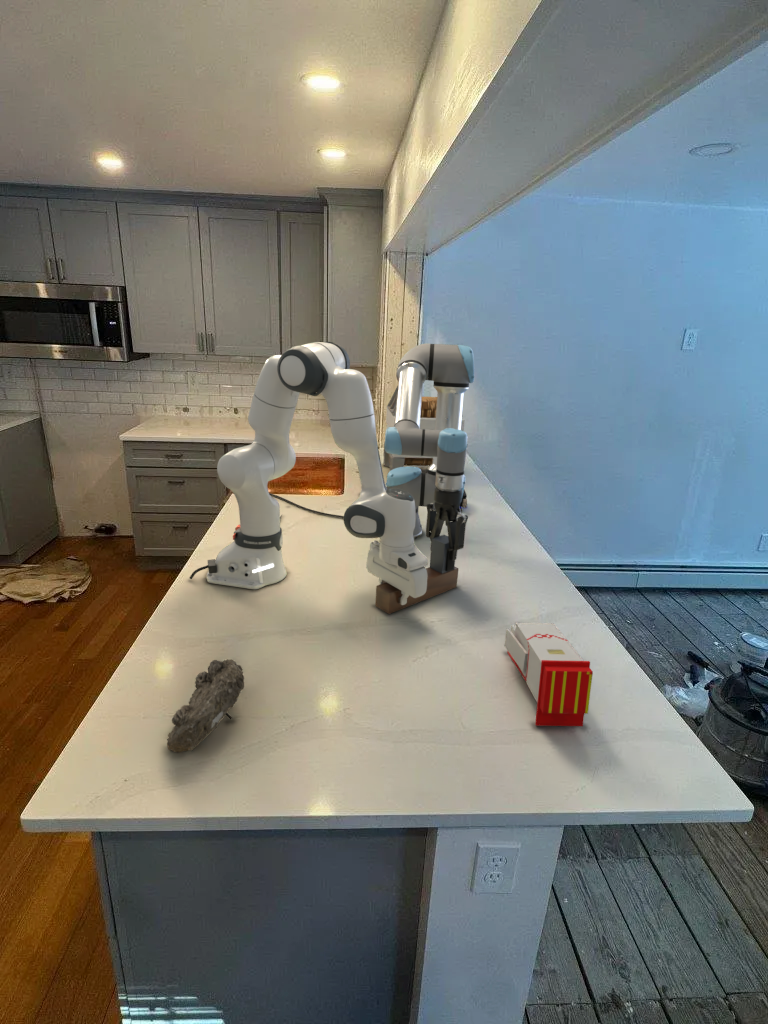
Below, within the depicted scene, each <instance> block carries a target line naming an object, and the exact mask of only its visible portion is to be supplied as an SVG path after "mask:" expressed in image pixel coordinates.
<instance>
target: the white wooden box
mask: <svg viewBox="0 0 768 1024" xmlns="http://www.w3.org/2000/svg"><path fill="white" fill-rule="evenodd" d="M397 392H398V385H397V386H396V388H395V390H394V392H393V394H392V395H391V398H390V400H389V402H388V404H387V405H386V413H385V414H386V415H385V423H386V428H385V430H386V429H387V428H388V427H394V419H395V410H396V401H397ZM436 408H437V396H422V400H421V414H420V429H429V430H435V421H436ZM464 429H465V419H464V418H462V419H461V430H462V431H464V432H465V430H464ZM432 463H433V457H430V456H414V455H397V454H389V453H387V452H386V451H385V441H384V442H383V466H384V467H388V468H389V472H390V471H391V470H393V469H395V468H399V467H405V466H406V467H407V466H412V467H417V466H418V467H429V466H430V465H431V464H432Z"/></svg>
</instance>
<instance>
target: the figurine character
mask: <svg viewBox="0 0 768 1024" xmlns="http://www.w3.org/2000/svg"><path fill="white" fill-rule="evenodd" d="M467 495H468V494H467V493H466V490H465V489H464V492H463V496H462V501H461V503H460V506H459V507H460V512H463V509H464V508H465V509H466V508H467V506H468V499H467V497H468V496H467Z"/></svg>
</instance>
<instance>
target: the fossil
mask: <svg viewBox="0 0 768 1024" xmlns="http://www.w3.org/2000/svg"><path fill="white" fill-rule="evenodd" d="M243 670H244V669H243V667H242V665H240V664H237V662H236V661H235V660H234V659H232V658H231V659H227V658H226V659H224V660H223V661H222V660H217V659H212V660H211V661H210V663H209V665H208V666H207V671H201V672H199V673H198V674H197V675H196V676H195V680H194V684H195V685H194V687H195V689H194V690H193V693H192V694H191V697H190V698H189V700H188V704H184V705H182V706H181V707H180V709H177V710H176V711H175V713H174V715H173V716H172V718H171V723H172V724H173V727H172V730H171V731H170V732H168V734H167V738H166V741H167V742H166V745H167V749H168V750H169V751H173V752H174V753H176V754H178V753H182V752H188V751H189V752H192V751H193V750H195V748H196V747H197V746H199V744H200V743H201V742H203V741H204V740H205V739H206V738H207V737H208V736H209V735H210V734H211V733H212V732H214V730H215V729H217V727H218V726H219V724H220V722H221V721H222V720H223V719H224V718H225V716H226V717H227V719H229V720H233V717H232V715H230V714H229V710H230V709H231V708H234V706H235V704H236V703H237V702H238V699H239V697H240V695H241V693H242V691H243V690H245V689H244V688H245V675H244V671H243Z"/></svg>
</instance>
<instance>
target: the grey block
mask: <svg viewBox="0 0 768 1024" xmlns="http://www.w3.org/2000/svg"><path fill="white" fill-rule="evenodd" d="M430 547H431V550H430V555H429V556H430V557H429V567H430V568H432V569H434V570H436V571H438V572H440V573H442V574H443V573H446V572H448V571H445V567H446V556H447V549H448V548H449V539H448V535H446V534H440V536H438V537H435V538H432V542H431V541H430ZM455 565H456V560H454V567H456V566H455ZM452 570H454V569H452ZM450 571H451V570H450Z"/></svg>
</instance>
